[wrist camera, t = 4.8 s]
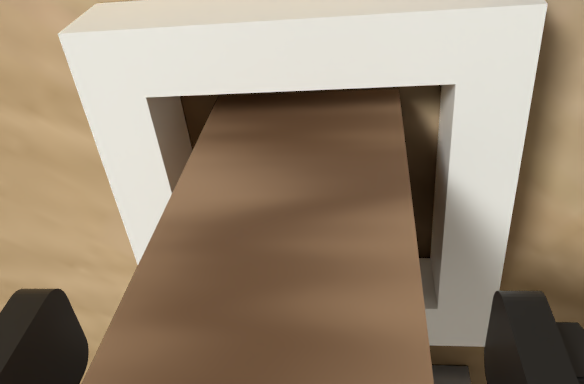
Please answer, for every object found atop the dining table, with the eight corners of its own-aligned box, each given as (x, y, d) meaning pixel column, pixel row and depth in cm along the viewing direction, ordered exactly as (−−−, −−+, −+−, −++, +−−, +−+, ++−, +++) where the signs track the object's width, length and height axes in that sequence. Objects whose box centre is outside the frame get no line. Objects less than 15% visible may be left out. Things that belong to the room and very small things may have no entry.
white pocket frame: (522, -26, 12) (547, 3, 10) (477, 294, 17) (489, 346, 15) (95, 3, 13) (57, 33, 11) (181, 291, 18) (164, 339, 17)
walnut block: (398, 88, 13) (439, 436, 6) (396, 231, 16) (423, 594, 9) (218, 95, 14) (64, 420, 7) (244, 232, 17) (152, 572, 9)
